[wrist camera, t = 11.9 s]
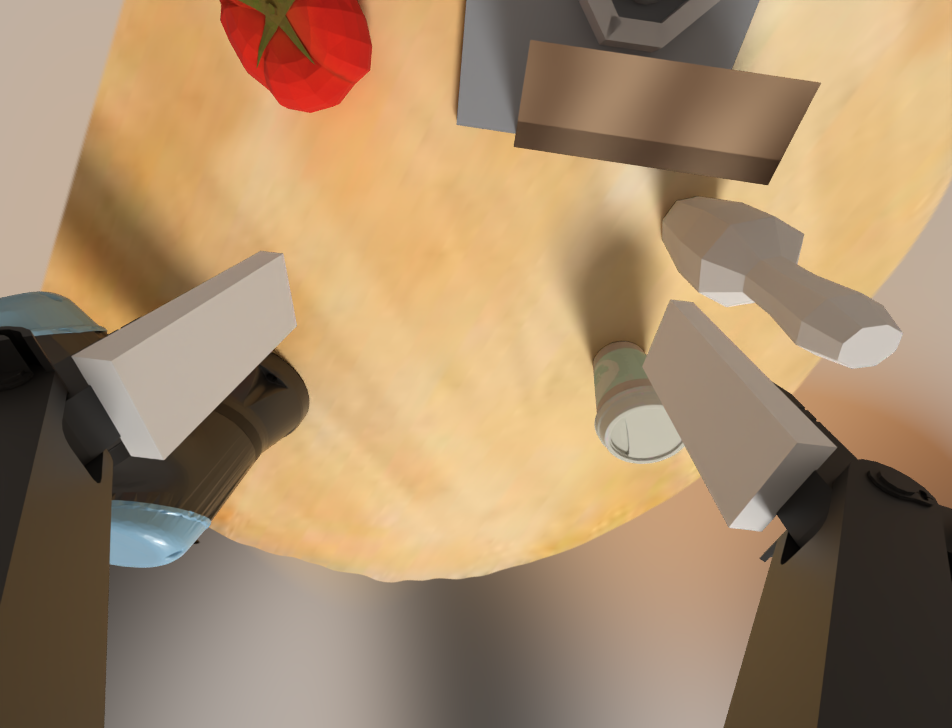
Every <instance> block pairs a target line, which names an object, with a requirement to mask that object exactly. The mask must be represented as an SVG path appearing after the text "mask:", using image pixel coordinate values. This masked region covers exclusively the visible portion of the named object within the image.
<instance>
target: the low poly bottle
mask: <svg viewBox="0 0 952 728" xmlns="http://www.w3.org/2000/svg"><path fill="white" fill-rule="evenodd" d="M803 237H804V234H803V233H802V232H800V231H798V230H797V229H795V228H793V227H791V226H790V225H788V224H786V223H785V222H783V221H781V220H780V219H778V218H776V217H775V216H772V215H770V214H768V213H765V212H763V211H761V210H758V209H756V208H754V207H751V206H749V205H746V204H744V203H741V202H734V201H727V200H721V199H714V198H707V197H700V196H697V197H693V198H688V199H683V200H679V201H676V202H675V204H674V205H673V206H672V208H671V209H670V210H669V212H668V213H667V215H666V216H665V217H664V219H663V220H662V241H663V243H664V245H665V247H666V249H667V250H668V252H669V254H670V256H671V258H672V260H673V262H674V264H675V266H676V268H677V270H678V272H679V273H680V274H681V275H682V276H683V277H684V278H685V279H686V280H687V281H688V282H689V283H690V284H691V285H692V286H693V287H694V288H695V289H696V290H697V291H698V292H699V293H701V294H702V295H704V296H706V297H708V298H710V299H712V300H714V301H716V302H718V303H719V304H721V305H723V306H725V307H730V306H737V305H743V304H750V303H756V304H757V305H759V306H760V307H761V308H762V309H763V310H765V311H766V312H767V313H768V314H770V316H771V317H772V318H773V319H774V320H775V321H776V322H777V324H778V325H779V326H780V327H781V328H782V329H783V331H784V332H785V333H786V334H787V335H788V336H789V337H790V339H791V340H792V341H793V342H794V343H795V344H796V345H798V346H799V347H801V348H803V349H805V350H807V351H809V352H811V353H813V354H815V355H817V356H819V357H822V358H825V359H828V360H830V361H833V362H836V363H838V364H841V365H844V366H846V367H849V368H861V367H870V366H876V365H877V364H878V363H880V362H881V361H883V360H884V359H885V358H887V357H888V356H889V355H891V354H892V353H893V352H895V351H896V349H897V347H898V344H899V342H900V340H901V337H902V335H903V333H902V331H901V330H900V328H899V327H898V326H897V324H896V323H895V321H894V320H893V319H892V317H891V316H890V315H889V313H888V312H887V310H886V309H885V308H884V306H883V305H881V304H879V303H878V302H876V301H874V300H872V299H871V298H869V297H867V296H866V295H864V294H862V293H860V292H857V291H855V290H852V289H850V288H847V287H845V286H842V285H840V284H837V283H834V282H832V281H829V280H827V279H824V278H822V277H819V276H817V275H815V274H813V273H811V272H809V271H807V270H806V269H804V268H802V267H800V266H799V265H797V263H798V259H799V255H800V250H801V246H802V242H803Z"/></svg>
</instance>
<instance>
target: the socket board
mask: <svg viewBox="0 0 952 728" xmlns="http://www.w3.org/2000/svg"><path fill="white" fill-rule="evenodd" d="M758 3H759V0H660V1H658V2H656V3H652V4H648V5H645V4H640V3H637V2H635V1H633V0H466V13H465V25H464V38H463V51H462V63H461V76H460V89H459V101H458V114H457V125H461V126H468V127H475V128H481V129H488V130H495V131H501V132H508V133H515V134H516V129H517V122H518V116H519V110H520V103H521V97H522V90H523V84H524V78H525V71H526V65H527V59H528V52H529V46H530V40H535V41H541V42H548V43H555V44H562V45H568V46H575V47H582V48H589V49H595V50H602V51H609V52H616V53H623V54H629V55H636V56H643V57H650V58H656V59H663V60H670V61H677V62H683V63H690V64H697V65H704V66H710V67H717V68H724V69H731V70H732V67H733V65H734V62H735V60H736V57H737V55H738V52H739V50H740V48H741V45H742V43H743V40H744V38H745V35H746V33H747V30H748V28H749V25H750V23H751V20H752V18H753V15H754V13H755V10H756V8H757V5H758Z"/></svg>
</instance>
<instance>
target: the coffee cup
mask: <svg viewBox="0 0 952 728" xmlns="http://www.w3.org/2000/svg"><path fill="white" fill-rule="evenodd" d="M646 356H647V355H646V354H645V353H644V351H643V350H642V349H641V348H640V347H639V346H638V345H636V344H634V343H631V342H625V341H620V342H614V343H611V344H609V345H607V346H605V347H603V348H602V349H601V350H600V351H599V352H598V353H597V355H596V356H595V358H594V362H593V370H594V384H595V396H596V409H597V415H596V418H595V430H596V433H597V435H598V437H599V439H600V441H601V442H602V444H603V445H604V446H605V447H606V448H607V449H608V450H609V452H610V453H611V454H613V455H614V456H615V457H617V458H619V459H621V460H623V461H626V462H630V463H638V464H645V463H654V462H658V461H662V460H664V459H667V458H669V457H671V456H673V455H675V454H676V453H678V452H679V451H680V450H681V449H682V448H683V447H684V446H685V445H684V444H683V442H682V440H681V438H680V436H679V434H678V432H677V431H676V429H675V427H674V425H673V423H672V421H671V419H670V418H669V416H668V414H667V412H666V410H665V408H664V406H663V405H662V403H661V401H660V399H659V397H658V395H657V393H656V392H655V390H654V388H653V386H652V384H651V382H650V380H649V379H648V377H647V375H646V373H645V371H644V369H643V367H642V366H643V364H644V361H645V359H646Z"/></svg>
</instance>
